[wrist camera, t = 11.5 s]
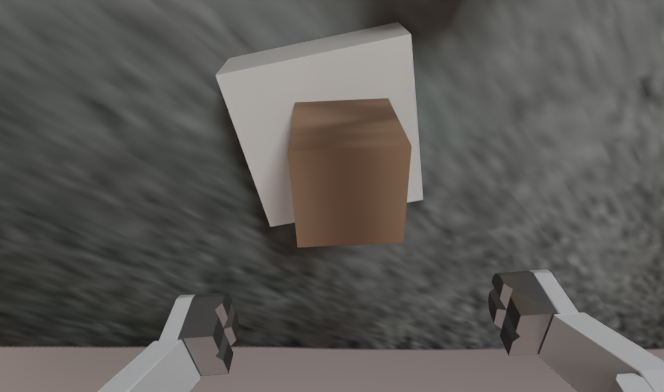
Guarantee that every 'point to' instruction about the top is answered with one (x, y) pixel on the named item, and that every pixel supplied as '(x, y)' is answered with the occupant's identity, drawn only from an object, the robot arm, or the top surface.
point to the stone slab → (315, 99)
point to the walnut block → (348, 172)
